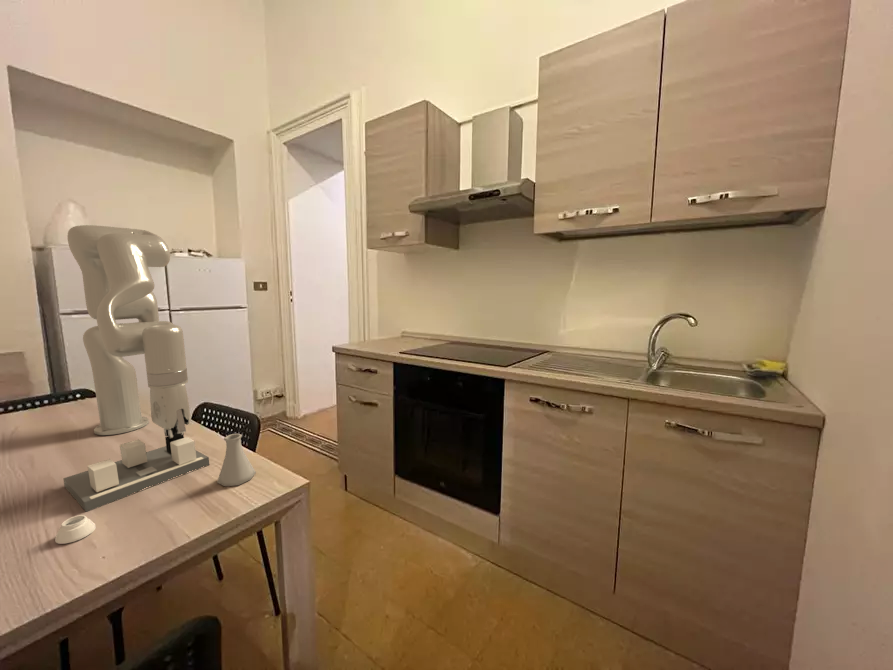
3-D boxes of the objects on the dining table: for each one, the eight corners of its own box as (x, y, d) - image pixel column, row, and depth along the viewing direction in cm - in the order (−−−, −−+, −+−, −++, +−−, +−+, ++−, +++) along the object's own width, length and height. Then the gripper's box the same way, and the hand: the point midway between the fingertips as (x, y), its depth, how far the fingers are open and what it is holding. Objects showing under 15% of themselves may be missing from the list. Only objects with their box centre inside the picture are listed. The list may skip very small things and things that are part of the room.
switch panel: (64, 486, 81) (63, 477, 80) (180, 448, 99) (179, 440, 98) (85, 511, 72) (84, 501, 71) (209, 464, 90) (208, 456, 89)
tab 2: (122, 463, 86) (119, 444, 85) (140, 457, 89) (138, 439, 88) (128, 467, 84) (125, 449, 83) (147, 461, 87) (144, 443, 86)
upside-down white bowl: (65, 531, 66) (49, 549, 62) (62, 515, 66) (46, 533, 61) (101, 523, 68) (88, 540, 64) (98, 508, 68) (85, 525, 63)
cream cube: (172, 460, 87) (170, 442, 87) (189, 454, 90) (187, 436, 89) (179, 464, 85) (177, 446, 84) (196, 458, 88) (194, 440, 87)
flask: (239, 489, 79) (234, 444, 78) (210, 485, 81) (205, 442, 79) (262, 472, 86) (258, 431, 85) (235, 469, 88) (231, 428, 86)
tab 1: (90, 486, 76) (87, 465, 76) (112, 478, 79) (109, 458, 79) (96, 492, 74) (93, 471, 74) (119, 484, 77) (116, 463, 76)
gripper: (136, 376, 88) (145, 448, 91) (161, 387, 80) (170, 466, 83) (173, 369, 94) (180, 438, 97) (200, 379, 86) (207, 453, 89)
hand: (176, 451), depth 90 cm, fingers closed
